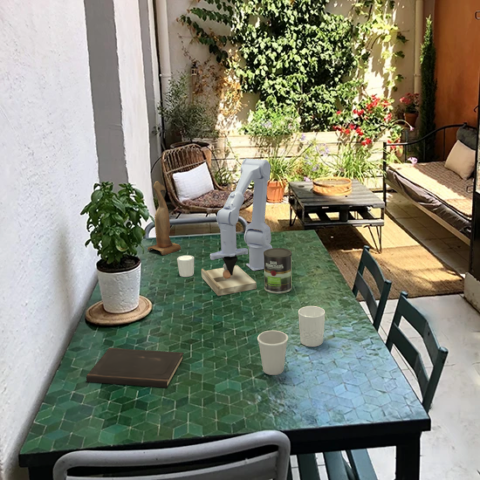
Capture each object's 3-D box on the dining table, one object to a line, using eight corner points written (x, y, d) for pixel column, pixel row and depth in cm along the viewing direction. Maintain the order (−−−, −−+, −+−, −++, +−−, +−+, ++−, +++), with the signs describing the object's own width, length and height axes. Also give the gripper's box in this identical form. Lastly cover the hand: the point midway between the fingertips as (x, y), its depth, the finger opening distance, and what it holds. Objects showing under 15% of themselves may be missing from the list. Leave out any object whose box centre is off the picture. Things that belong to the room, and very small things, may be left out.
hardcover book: (109, 354, 174) (109, 347, 174) (184, 359, 170) (183, 352, 169) (86, 383, 159) (85, 376, 159) (167, 389, 155) (166, 382, 154)
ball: (224, 267, 221) (219, 274, 221) (227, 270, 218) (222, 277, 218) (230, 271, 223) (225, 278, 222) (234, 274, 220) (229, 281, 220)
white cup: (327, 337, 178) (327, 307, 175) (322, 349, 171) (322, 318, 168) (301, 334, 181) (301, 304, 178) (295, 346, 174) (295, 315, 171)
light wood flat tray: (237, 271, 234) (237, 263, 233) (256, 288, 216) (256, 279, 215) (201, 277, 229) (201, 269, 228) (218, 295, 211) (217, 286, 210)
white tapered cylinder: (194, 277, 230) (193, 260, 228) (177, 277, 230) (175, 261, 228) (195, 270, 236) (194, 254, 234) (179, 271, 237) (177, 255, 234)
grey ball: (229, 268, 230) (229, 260, 229) (232, 271, 228) (232, 263, 227) (222, 269, 229) (221, 262, 228) (224, 272, 227) (224, 264, 226)
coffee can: (287, 295, 210) (286, 258, 205) (260, 291, 213) (259, 255, 209) (295, 284, 219) (295, 249, 214) (269, 281, 222) (268, 246, 218)
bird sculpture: (182, 250, 263) (178, 179, 254) (162, 256, 255) (158, 184, 246) (165, 245, 270) (161, 177, 261) (146, 251, 262) (141, 181, 253)
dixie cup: (279, 380, 156) (279, 347, 153) (252, 372, 160) (251, 340, 157) (293, 366, 163) (293, 334, 160) (267, 359, 167) (266, 327, 164)
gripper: (213, 246, 211) (215, 281, 215) (250, 240, 215) (251, 274, 220) (207, 240, 217) (209, 275, 221) (243, 235, 222) (245, 268, 226)
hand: (230, 274), depth 221 cm, fingers closed, pressing on ball
